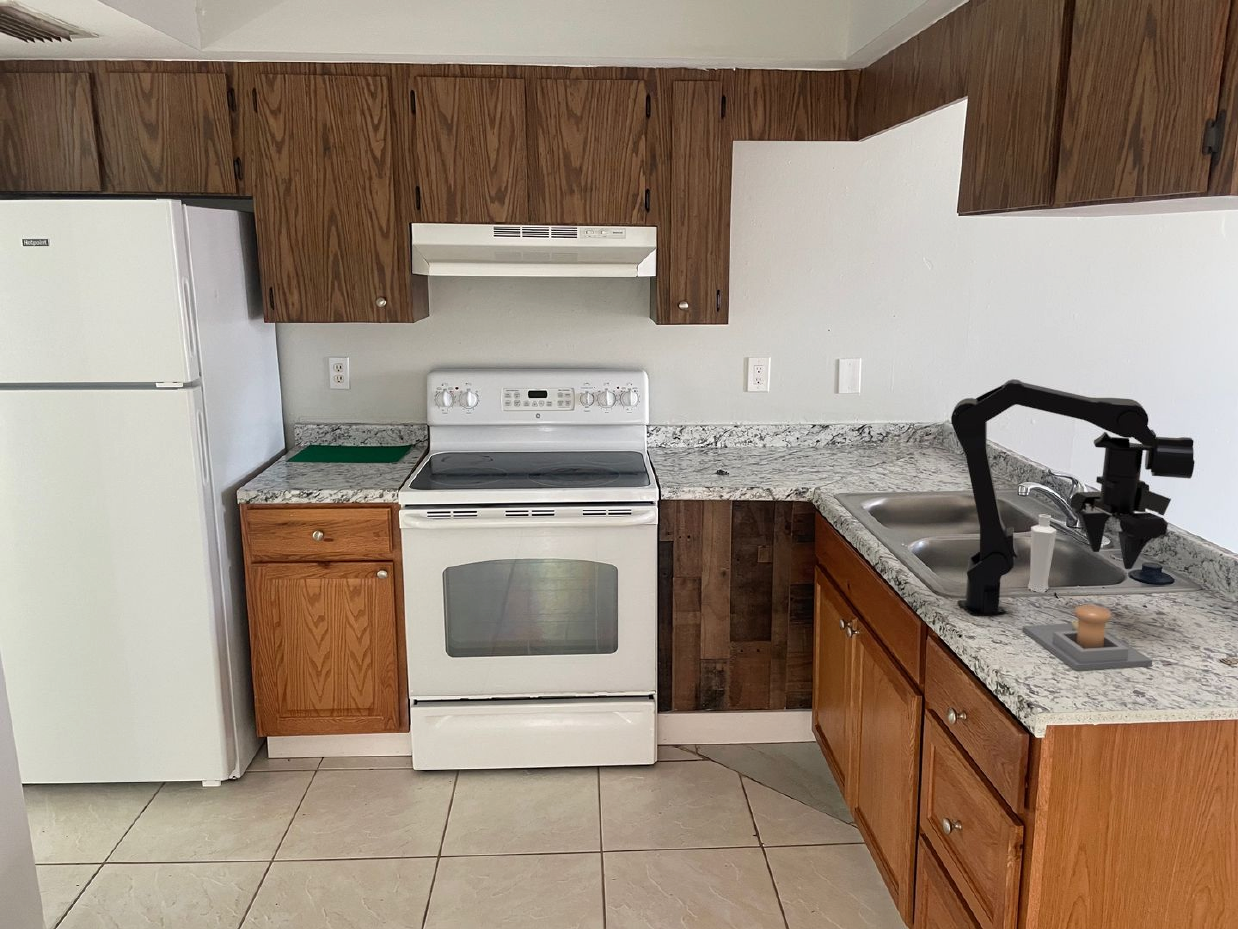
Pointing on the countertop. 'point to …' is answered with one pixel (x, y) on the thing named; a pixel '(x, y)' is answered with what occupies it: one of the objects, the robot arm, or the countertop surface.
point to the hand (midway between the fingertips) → (1111, 560)
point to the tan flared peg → (1091, 626)
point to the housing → (1065, 648)
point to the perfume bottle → (1041, 553)
